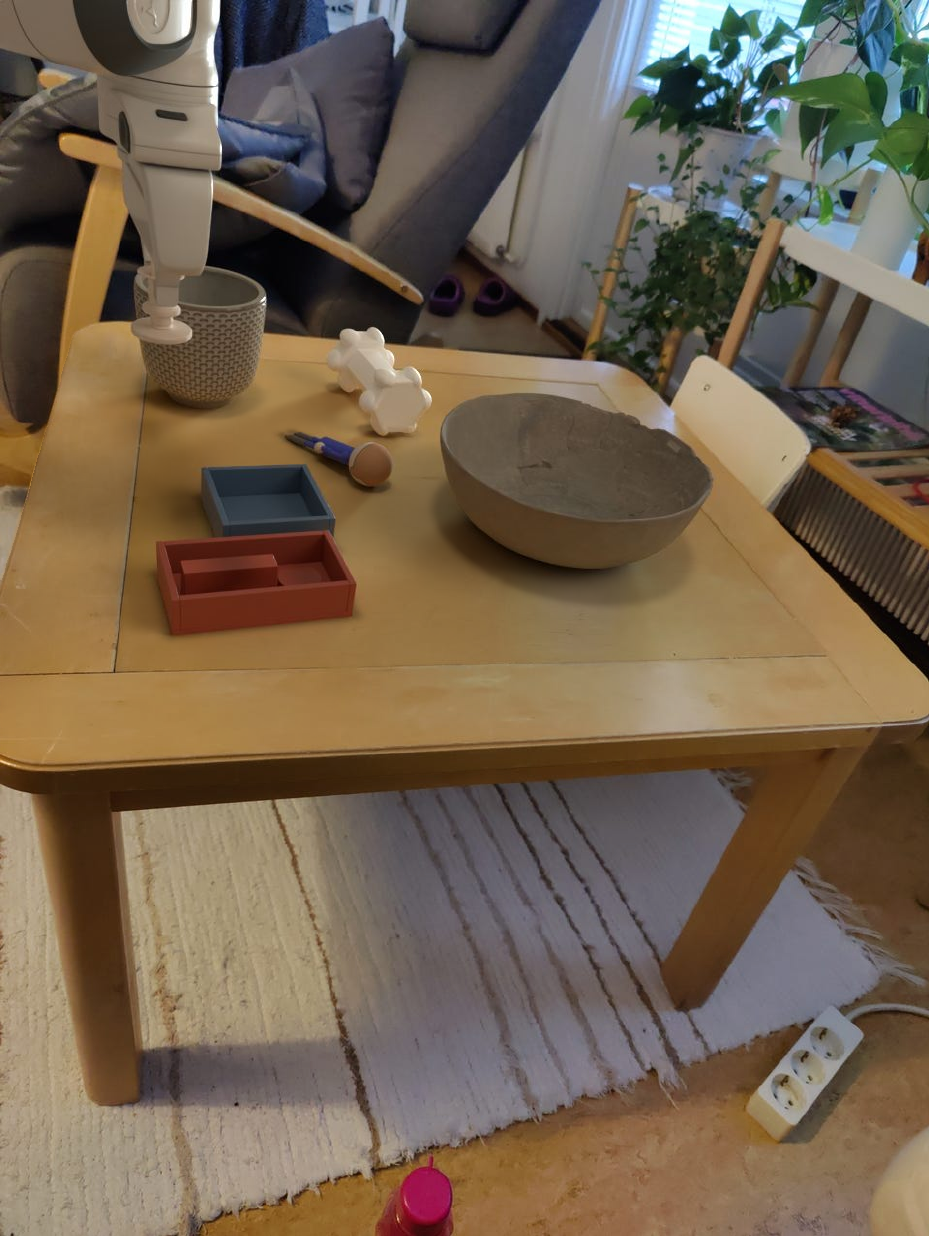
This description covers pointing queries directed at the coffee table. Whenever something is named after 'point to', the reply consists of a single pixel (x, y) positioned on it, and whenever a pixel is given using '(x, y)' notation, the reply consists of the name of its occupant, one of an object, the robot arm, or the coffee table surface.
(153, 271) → the candle
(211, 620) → the red bin
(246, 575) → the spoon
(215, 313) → the planter
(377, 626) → the coffee table surface
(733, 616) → the coffee table surface
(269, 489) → the blue bin
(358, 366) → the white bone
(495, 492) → the bowl
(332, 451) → the toy
